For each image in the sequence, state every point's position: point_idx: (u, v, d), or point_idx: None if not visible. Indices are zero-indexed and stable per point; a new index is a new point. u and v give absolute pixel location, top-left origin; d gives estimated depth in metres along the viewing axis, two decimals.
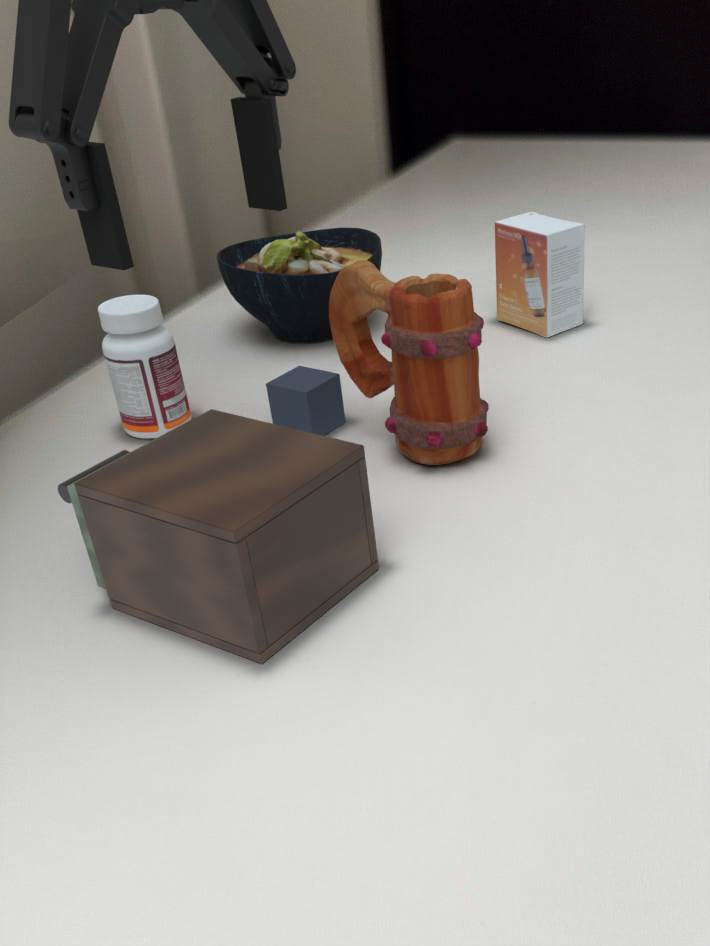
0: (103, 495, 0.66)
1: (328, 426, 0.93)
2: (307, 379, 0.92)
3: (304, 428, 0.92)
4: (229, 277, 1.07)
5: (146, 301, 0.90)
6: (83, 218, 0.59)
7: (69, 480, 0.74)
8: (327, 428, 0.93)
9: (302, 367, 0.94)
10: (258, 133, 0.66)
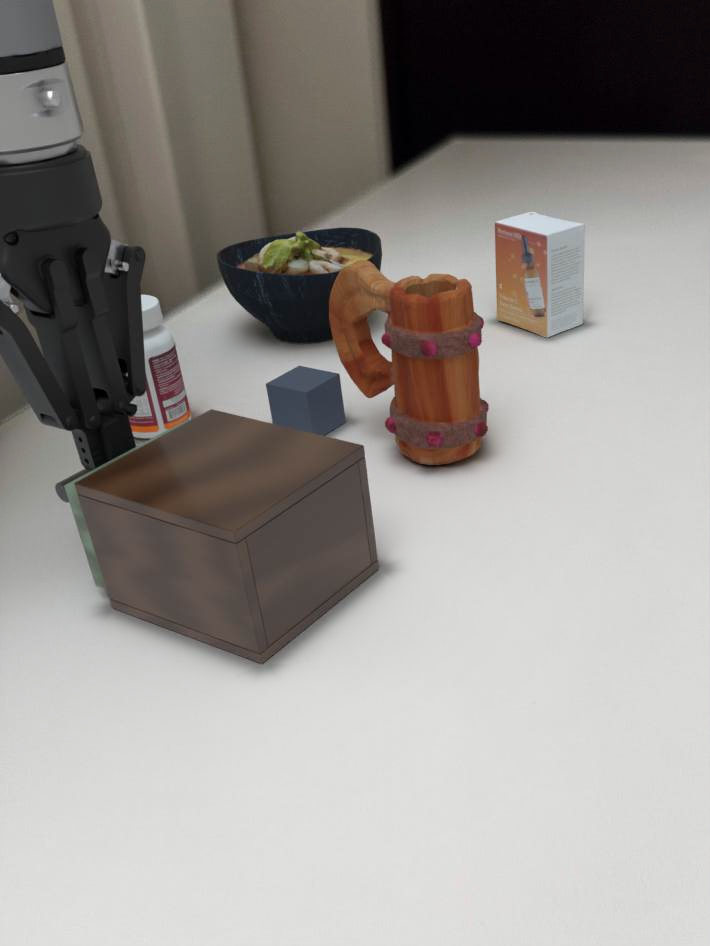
0: (103, 495, 0.66)
1: (328, 426, 0.93)
2: (307, 379, 0.92)
3: (304, 428, 0.92)
4: (229, 277, 1.07)
5: (146, 301, 0.90)
6: None
7: (67, 479, 0.74)
8: (327, 428, 0.93)
9: (302, 367, 0.94)
10: None
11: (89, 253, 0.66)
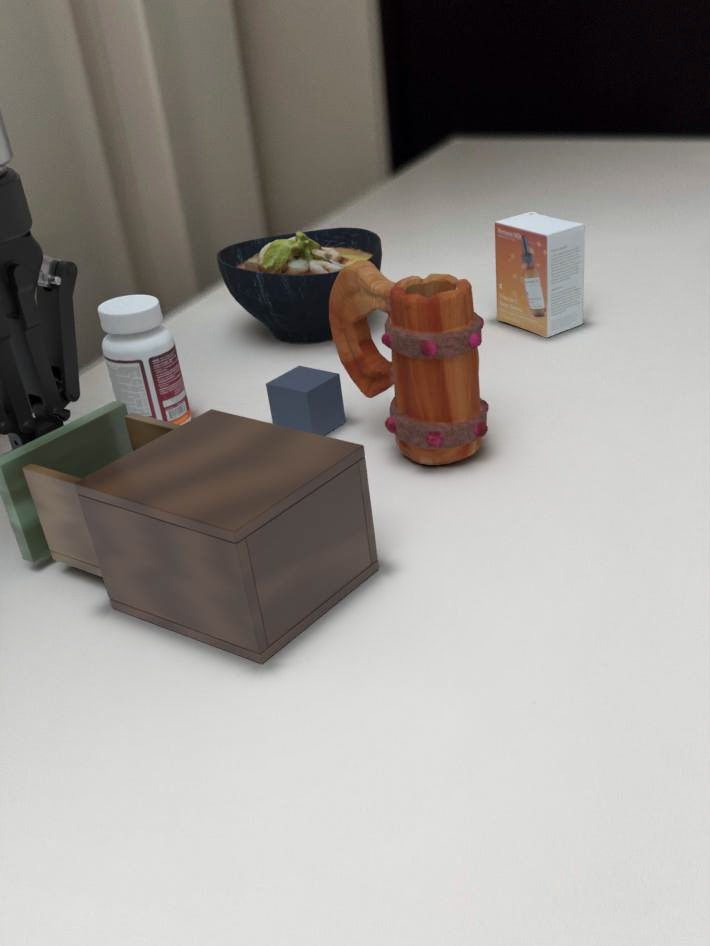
0: (103, 495, 0.66)
1: (328, 426, 0.93)
2: (307, 379, 0.92)
3: (304, 428, 0.92)
4: (229, 277, 1.07)
5: (146, 301, 0.90)
6: None
7: None
8: (327, 428, 0.93)
9: (302, 367, 0.94)
10: None
11: (20, 269, 0.70)
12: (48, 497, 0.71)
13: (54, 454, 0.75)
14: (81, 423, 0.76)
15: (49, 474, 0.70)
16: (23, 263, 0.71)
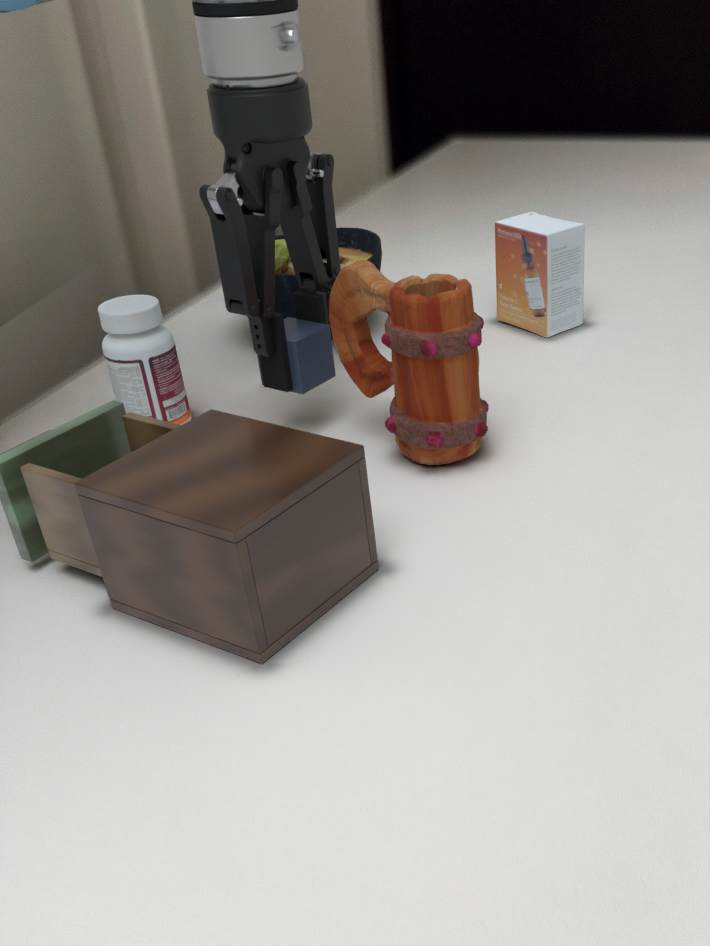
0: (103, 495, 0.66)
1: (317, 378, 0.91)
2: (296, 330, 0.89)
3: (293, 380, 0.89)
4: None
5: (146, 301, 0.90)
6: (262, 358, 0.89)
7: None
8: (317, 381, 0.91)
9: (291, 318, 0.92)
10: (312, 318, 0.91)
11: (297, 165, 0.82)
12: (46, 496, 0.72)
13: (52, 454, 0.75)
14: (79, 422, 0.76)
15: (47, 473, 0.70)
16: None
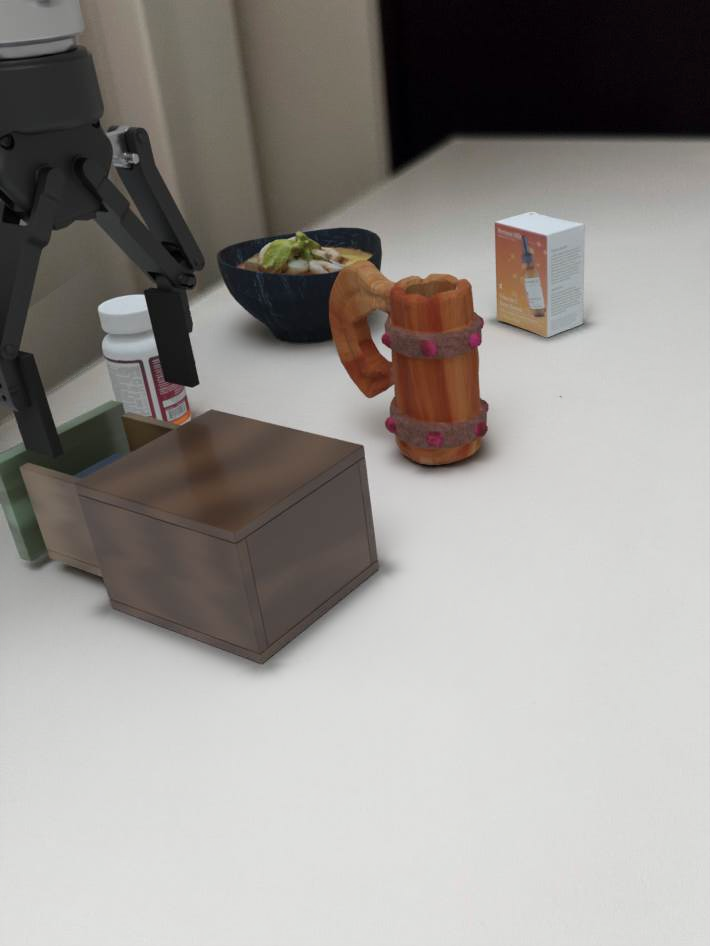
0: (103, 495, 0.66)
1: None
2: None
3: None
4: (229, 277, 1.07)
5: None
6: (17, 412, 0.65)
7: None
8: None
9: None
10: (169, 321, 0.72)
11: (88, 165, 0.62)
12: (45, 496, 0.72)
13: None
14: (78, 422, 0.76)
15: (46, 473, 0.70)
16: None
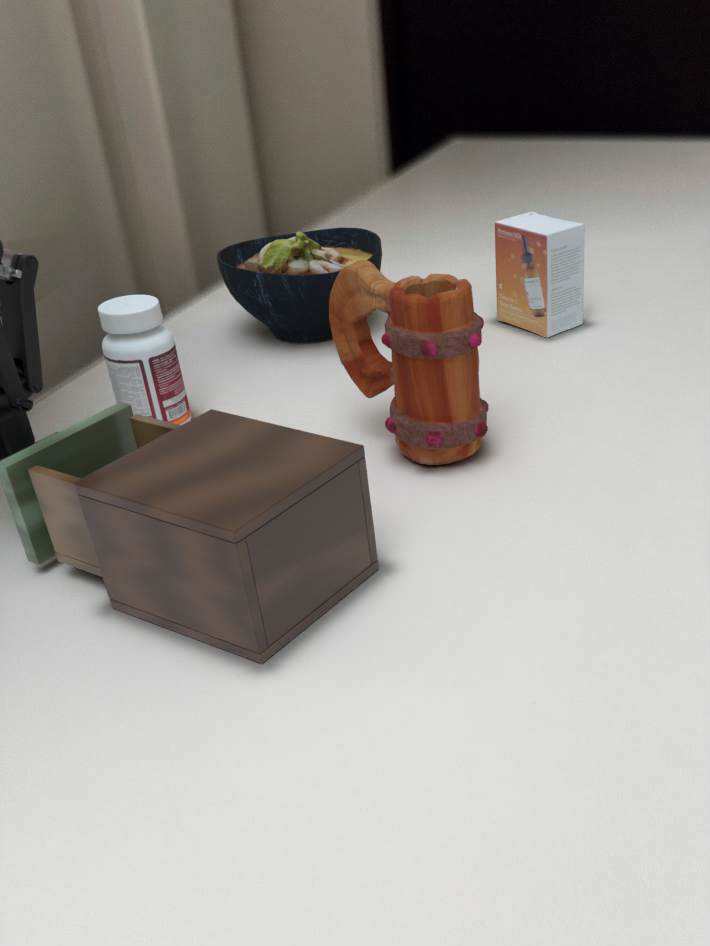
0: (103, 495, 0.66)
1: None
2: None
3: None
4: (229, 277, 1.07)
5: (146, 301, 0.90)
6: None
7: (1, 460, 0.77)
8: None
9: None
10: None
11: None
12: (54, 499, 0.71)
13: (59, 456, 0.74)
14: (87, 424, 0.76)
15: (55, 476, 0.70)
16: None
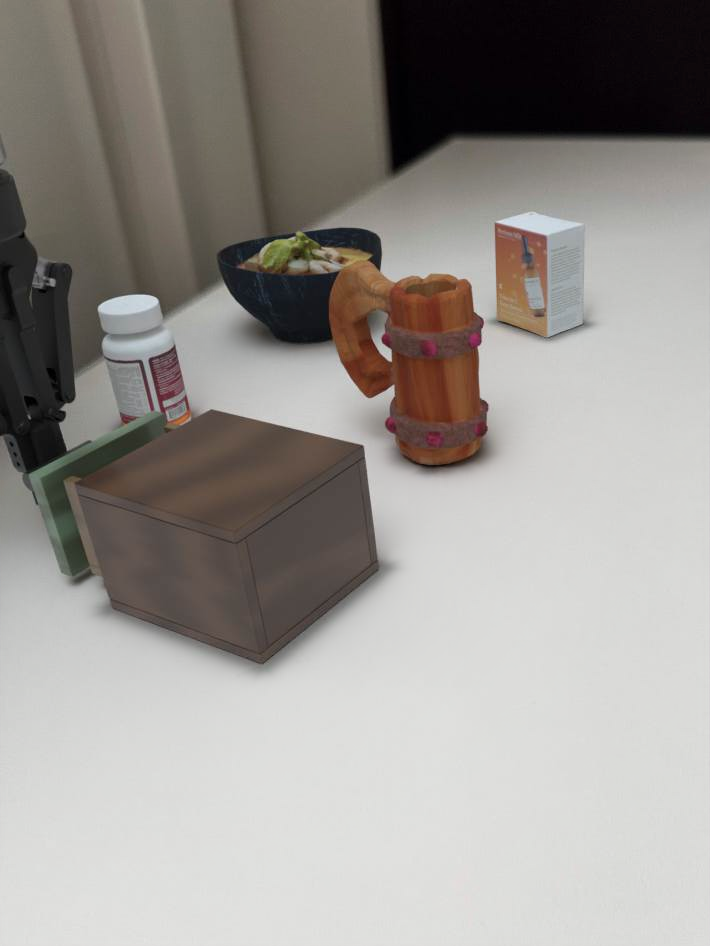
0: (103, 495, 0.66)
1: None
2: None
3: None
4: (229, 277, 1.07)
5: (146, 301, 0.90)
6: None
7: (33, 469, 0.76)
8: None
9: None
10: None
11: (15, 270, 0.70)
12: None
13: (93, 466, 0.73)
14: (121, 433, 0.74)
15: None
16: (17, 264, 0.71)
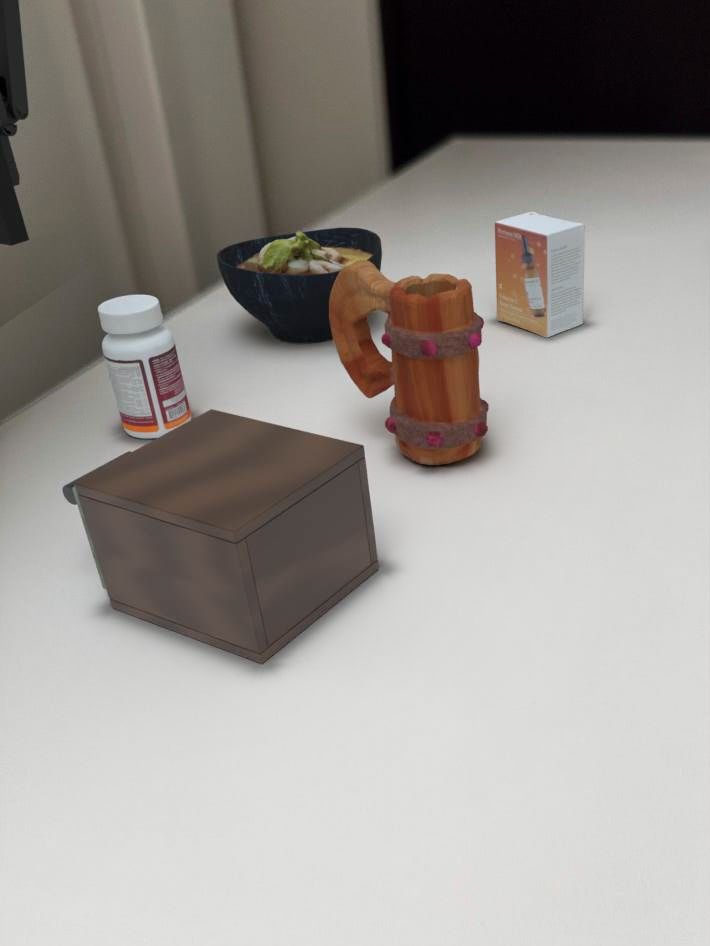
0: (103, 495, 0.66)
1: None
2: None
3: None
4: (229, 277, 1.07)
5: (146, 301, 0.90)
6: None
7: (74, 481, 0.74)
8: None
9: None
10: None
11: None
12: None
13: None
14: None
15: None
16: None
